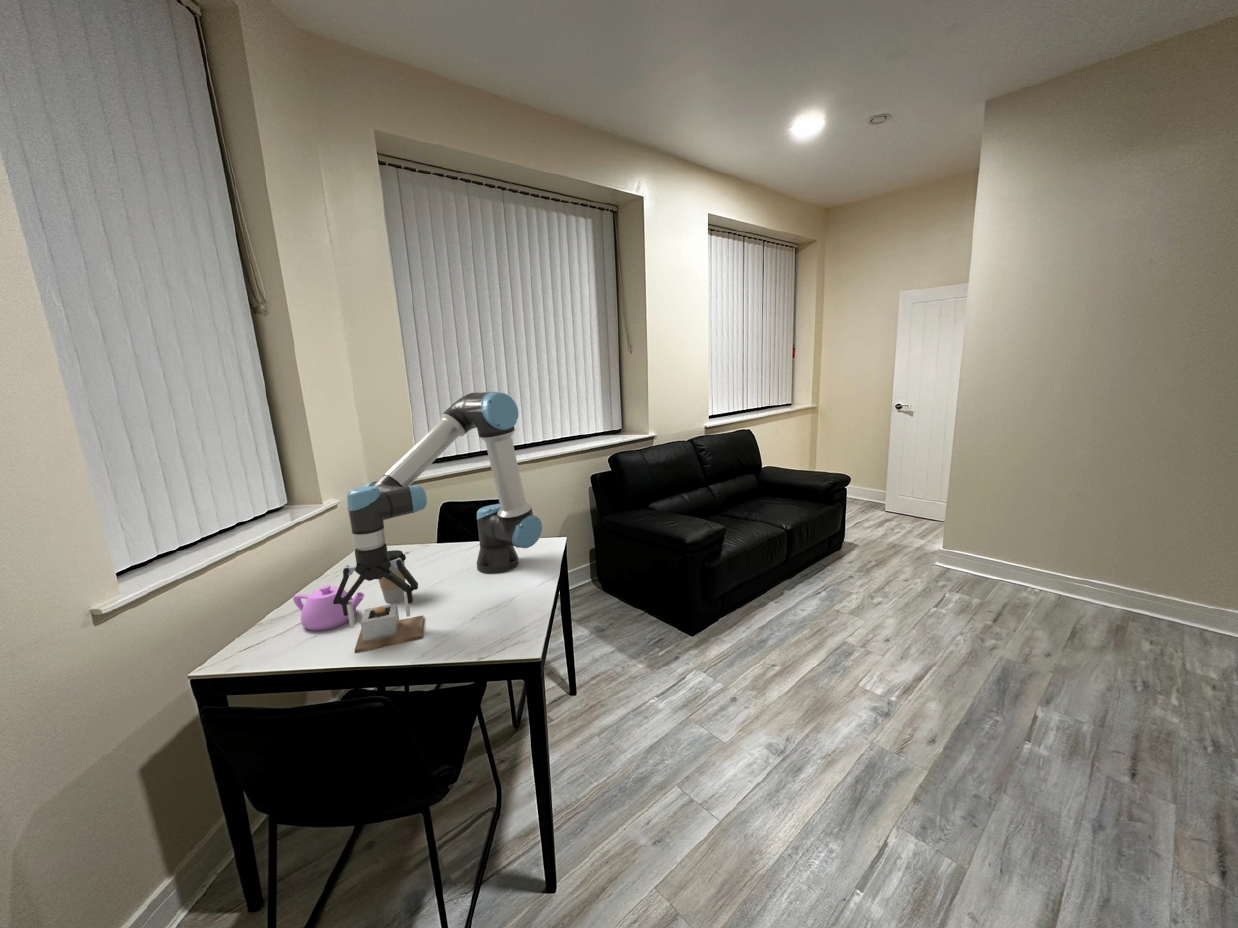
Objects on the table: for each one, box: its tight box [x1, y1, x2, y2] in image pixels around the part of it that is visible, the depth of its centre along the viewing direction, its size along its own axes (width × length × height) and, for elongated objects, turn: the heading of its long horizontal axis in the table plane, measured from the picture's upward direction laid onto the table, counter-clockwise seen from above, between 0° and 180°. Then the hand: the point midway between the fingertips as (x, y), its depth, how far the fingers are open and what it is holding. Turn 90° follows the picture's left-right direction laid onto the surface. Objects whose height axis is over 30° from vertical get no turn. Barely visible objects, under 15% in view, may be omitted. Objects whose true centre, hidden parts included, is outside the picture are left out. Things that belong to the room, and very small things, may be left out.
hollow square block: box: [360, 603, 400, 644], centre depth 125 cm, size 8×8×6 cm
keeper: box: [354, 606, 424, 653], centre depth 125 cm, size 16×12×8 cm
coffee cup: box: [378, 549, 407, 604], centre depth 146 cm, size 9×9×15 cm
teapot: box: [292, 584, 365, 631], centre depth 134 cm, size 14×20×11 cm
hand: (381, 619), depth 125 cm, fingers open, 13 cm apart
